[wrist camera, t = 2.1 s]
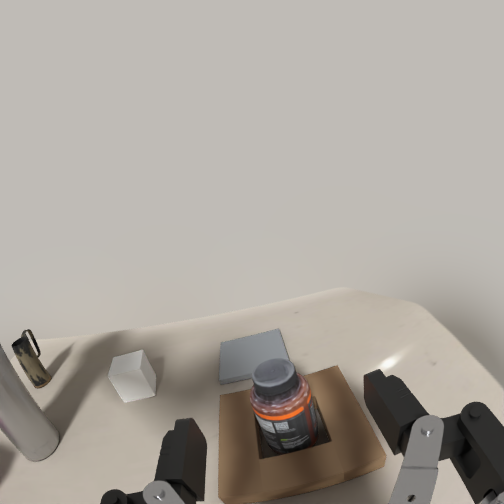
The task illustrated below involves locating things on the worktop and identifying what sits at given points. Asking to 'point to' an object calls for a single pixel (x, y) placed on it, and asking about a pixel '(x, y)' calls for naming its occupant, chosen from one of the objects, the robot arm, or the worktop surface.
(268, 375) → the supplement bottle
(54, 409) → the worktop surface
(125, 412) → the worktop surface
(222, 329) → the worktop surface
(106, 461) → the worktop surface
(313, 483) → the socket block
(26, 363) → the mug
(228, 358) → the slate pad
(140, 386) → the white cube
